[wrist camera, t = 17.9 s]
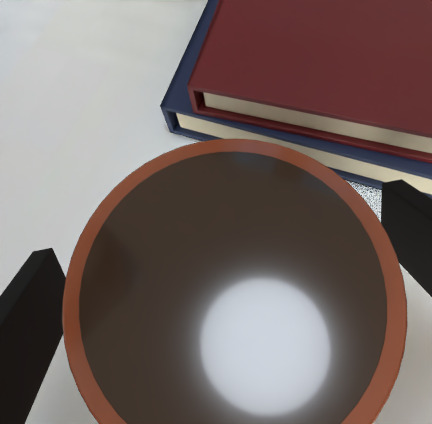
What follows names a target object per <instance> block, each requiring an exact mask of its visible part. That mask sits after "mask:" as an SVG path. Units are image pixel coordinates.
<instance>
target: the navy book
mask: <svg viewBox="0 0 432 424" xmlns="http://www.w3.org/2000/svg"><path fill="white" fill-rule="evenodd" d="M218 2H219V0H208V2H207V4H206V7H205V9H204V11H203V13H202V15H201V18H200V20H199V22H198V24H197V26H196V29H195V31H194V33H193V35H192V37H191V40H190V42H189V44H188V46H187V48H186V50H185V53H184V55H183V57H182V59H181V61H180V64H179V66H178V68H177V70H176V72H175V75H174V77H173V79H172V81H171V83H170V86H169V88H168V90H167V92H166V94H165V96H164V99H163V101H162V103H161V105H160V107H161V109H162V112H163V115H164V117H165V120H166V122H167V125H168V128H169V130H170V132H173V133H176V134H180V135H184V136H187V137H191V138H195V139H198V140H202V141H209V140H216V139H237V138H238V139H250V140H259V141H264V142H269V143H274V144H278V145H281V146H284V147H287V148H290V149H293V150H296V151H298V152H300V153H303V154H305V155H307V156H309V157H311V158H313V159H315V160H317V161H318V162H320V163H322V164H323V165H325V166H326V167H328V168H330V169H331V170H333V171H334V172H335V173H336V174H338V175H339V176H340V177H341V178H343V179H345V180H349V181H352V182H356V183H360V184H363V185H367V186H371V187H374V188H378V189H382V183H384V182H389V181H394V180H400V179H402V180H404V181H405V182H407V183H408V184H410V185H411V186H413V187H415V188H416V189H418V190H419V191H421V192H422V193H424V194H425V195H427V196H428V197H430V198H431V199H432V163H428V162H423V161H418V160H413V159H409V158H404V157H399V156H395V155H390V154H385V153H381V152H376V151H371V150H366V149H362V148H357V147H352V146H348V145H343V144H338V143H334V142H329V141H324V140H319V139H315V138H310V137H305V136H301V135H296V134H291V133H287V132H282V131H277V130H273V129H268V128H263V127H258V126H254V125H249V124H244V123H240V122H235V121H230V120H226V119H221V118H216V117H211V116H207V115H202V114H197V113H193V109H192V105H191V101H190V96H189V92H188V88H187V83H188V81H189V78H190V76H191V73H192V70H193V68H194V65H195V62H196V60H197V57H198V54H199V52H200V49H201V47H202V44H203V41H204V39H205V36H206V33H207V31H208V28H209V26H210V23H211V20H212V18H213V15H214V12H215V10H216V7H217V4H218Z"/></svg>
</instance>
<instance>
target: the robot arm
mask: <svg viewBox="0 0 432 424" xmlns="http://www.w3.org/2000/svg"><path fill="white" fill-rule="evenodd" d="M381 224H382V226H383V228H384V229H385V231H386V233H387V234H388V237H389V239H390V241H391V244H392V246H393V248H394V251H395V253H396V255H397V259H398V262H399V263H400V264H401V265H402V266H403V267H404V268H405V269H406V270H407V271H408V272H409V274H410V275H411V276H412V277H413V278H414V279H415V280H416V281H417V282H418V283H419V284H420V285H421V286H422V287H423V288H424V289H425V290H426V291H427V293H428V294H429V295H430V296H431V297H432V199H431V198H430V197H428V196H427V195H425V194H424V193H422V192H421V191H419V190H418V189H416V188H415V187H413V186H411V185H410V184H408V183H407V182H405V181H404V180H402V179H400V180H394V181H389V182H384V183H382V204H381ZM65 281H66V277H65V275H64V273H63V271H62V268H61V266H60V264H59V262H58V260H57V258H56V255H55V253H54V251H53V249H52V248H49V249H44V250H39V251H34V252H32V254H31V255H30V257H29V258H28V259H27V261H26V262H25V263H24V265H23V266H22V267H21V269H20V270H19V271H18V273H17V274H16V276H15V277H14V278H13V280H12V281H11V282H10V284H9V285H8V286H7V288H6V289H5V290H4V292H3V293H2V295H1V296H0V424H25V421H26V419H27V417H28V414H29V412H30V410H31V407H32V405H33V403H34V400H35V398H36V396H37V393H38V391H39V389H40V386H41V384H42V382H43V379H44V377H45V375H46V372H47V370H48V368H49V365H50V363H51V361H52V358H53V356H54V354H55V351H56V349H57V347H58V344H59V342H60V340H61V337H62V335H63V324H62V314H63V295H64V288H65Z"/></svg>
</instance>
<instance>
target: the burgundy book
mask: <svg viewBox="0 0 432 424" xmlns="http://www.w3.org/2000/svg"><path fill="white" fill-rule="evenodd" d="M187 88H188V92H189V96H190V101H191V105H192V109H193V113H197V114H202V115H207V116H211V117H216V118H221V119H226V120H230V121H235V122H240V123H244V124H249V125H254V126H258V127H263V128H268V129H273V130H277V131H282V132H287V133H291V134H296V135H301V136H305V137H310V138H315V139H319V140H324V141H329V142H334V143H338V144H343V145H348V146H352V147H357V148H362V149H366V150H371V151H376V152H381V153H385V154H390V155H395V156H399V157H404V158H409V159H413V160H418V161H423V162H428V163H432V0H219V2H218V4H217V7H216V10H215V12H214V15H213V18H212V20H211V23H210V26H209V28H208V31H207V33H206V36H205V39H204V41H203V44H202V47H201V49H200V52H199V54H198V57H197V60H196V62H195V65H194V68H193V70H192V73H191V76H190V78H189V81H188V83H187Z"/></svg>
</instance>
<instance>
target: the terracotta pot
mask: <svg viewBox="0 0 432 424" xmlns="http://www.w3.org/2000/svg"><path fill="white" fill-rule="evenodd" d="M62 324H63V333H64V343H65V348H66V353H67V357H68V361H69V365H70V369H71V372H72V374H73V377H74V379H75V382H76V385H77V387H78V390H79V392H80V394H81V396H82V398H83V399H84V401H85V403H86V405H87V407H88V409H89V411H90V412H91V414H92V415H93V416H94V418H95V419H96V420H97V422H98V423H99V424H373V423H374V421H375V420H376V418H377V417H378V415H379V413H380V412H381V410H382V408H383V407H384V405H385V403H386V402H387V400H388V398H389V396H390V393H391V391H392V389H393V386H394V384H395V381H396V379H397V376H398V374H399V370H400V366H401V362H402V358H403V354H404V350H405V341H406V332H407V300H406V294H405V287H404V281H403V276H402V272H401V269H400V265H399V262H398V259H397V255H396V253H395V251H394V248H393V246H392V244H391V241H390V239H389V237H388V234H387V233H386V231H385V229H384V228H383V226H382V224H381V223H380V221H379V219H378V217H377V216H376V214H375V213H374V212H373V210H372V209H371V208H370V207H369V205H368V204H367V203H366V201H365V200H364V199H363V198H362V197H361V196H360V194H359V193H358V192H357V191H356V190H355V189H354V188H353V187H352V186H351V185H350V184H349V183H348V182H346V181H345V180H344V179H343V178H341V177H340V176H339V175H338V174H336V173H335V172H334V171H333V170H331V169H330V168H328V167H326V166H325V165H323V164H322V163H320V162H318V161H317V160H315V159H313V158H311V157H309V156H307V155H305V154H303V153H300V152H298V151H296V150H293V149H290V148H287V147H284V146H281V145H278V144H274V143H269V142H264V141H259V140H250V139H238V138H237V139H216V140H209V141H202V142H197V143H194V144H190V145H186V146H182V147H179V148H177V149H174V150H172V151H169V152H167V153H164V154H162V155H160V156H158V157H156V158H154V159H153V160H151V161H149V162H147V163H145V164H144V165H142V166H141V167H140V168H138V169H137V170H135V171H134V172H132V173H131V174H129V175H128V176H127V177H126V178H125V179H124V180H123V181H122V182H120V183H119V184H118V185H117V186H116V187H115V188H114V189H113V190H112V191H111V192H110V193H109V194H108V195H107V197H106V198H105V199H104V200H103V201H102V202H101V203H100V205H99V206H98V208H97V209H96V211H95V212H94V213H93V215H92V216H91V218H90V219H89V221H88V223H87V224H86V226H85V228H84V230H83V232H82V234H81V235H80V237H79V240H78V242H77V245H76V247H75V250H74V252H73V255H72V257H71V261H70V265H69V268H68V272H67V276H66V281H65V288H64V295H63V314H62Z"/></svg>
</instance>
